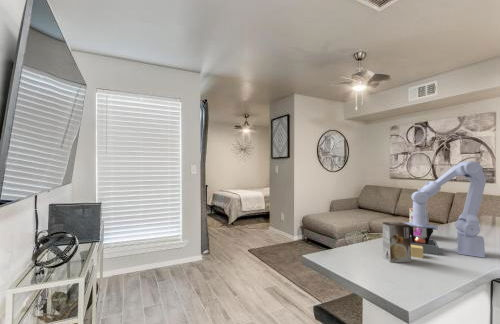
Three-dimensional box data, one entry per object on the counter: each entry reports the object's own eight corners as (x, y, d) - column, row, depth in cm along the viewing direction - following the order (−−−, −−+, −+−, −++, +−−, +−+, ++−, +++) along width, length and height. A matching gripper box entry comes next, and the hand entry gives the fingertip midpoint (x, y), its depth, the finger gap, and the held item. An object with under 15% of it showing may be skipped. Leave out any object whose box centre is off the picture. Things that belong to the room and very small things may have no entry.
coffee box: (402, 257, 113) (402, 221, 113) (411, 262, 106) (411, 225, 107) (382, 257, 113) (381, 221, 113) (390, 262, 107) (389, 225, 107)
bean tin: (425, 245, 126) (425, 236, 126) (427, 248, 121) (427, 238, 121) (413, 243, 129) (413, 234, 129) (414, 246, 124) (414, 237, 124)
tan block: (422, 255, 116) (422, 246, 116) (423, 258, 112) (423, 248, 112) (410, 253, 118) (410, 244, 118) (411, 256, 114) (411, 247, 114)
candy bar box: (408, 234, 152) (408, 207, 153) (417, 234, 152) (416, 207, 153) (421, 239, 141) (420, 210, 142) (430, 239, 141) (429, 211, 142)
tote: (435, 247, 127) (435, 239, 127) (438, 255, 116) (438, 246, 116) (404, 243, 134) (403, 235, 134) (404, 250, 123) (404, 242, 123)
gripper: (402, 215, 126) (403, 242, 125) (438, 218, 118) (439, 246, 118) (402, 213, 132) (403, 238, 131) (436, 215, 124) (437, 243, 124)
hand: (419, 242), depth 125 cm, fingers closed on bean tin, 5 cm apart
